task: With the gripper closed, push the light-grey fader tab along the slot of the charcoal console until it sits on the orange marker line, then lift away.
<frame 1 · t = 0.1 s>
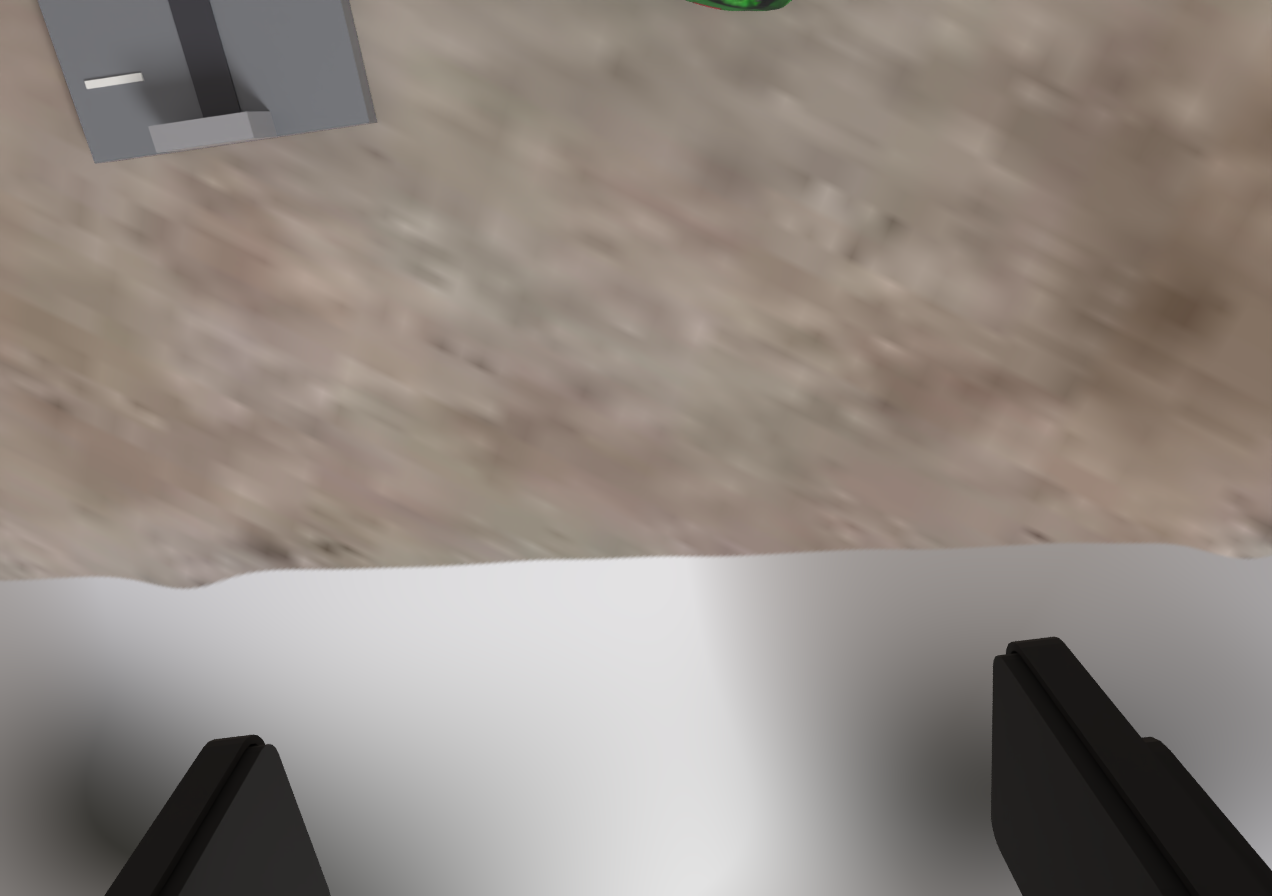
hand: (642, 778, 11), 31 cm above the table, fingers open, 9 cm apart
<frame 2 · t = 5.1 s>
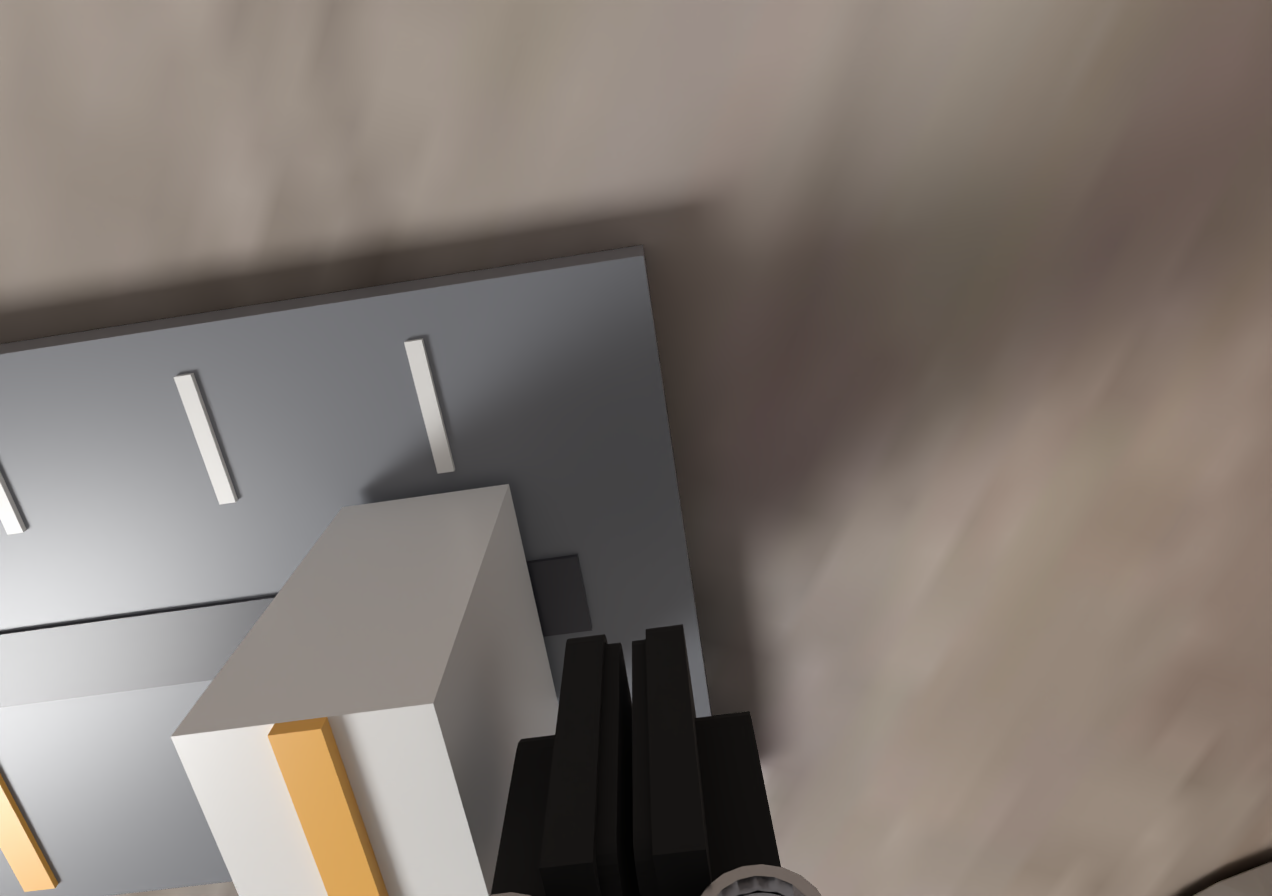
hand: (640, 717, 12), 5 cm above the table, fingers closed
console: (159, 618, 18), on the table
fader tab: (417, 727, 13), point 5 cm above the table, slide at 0.4 cm, touching gripper
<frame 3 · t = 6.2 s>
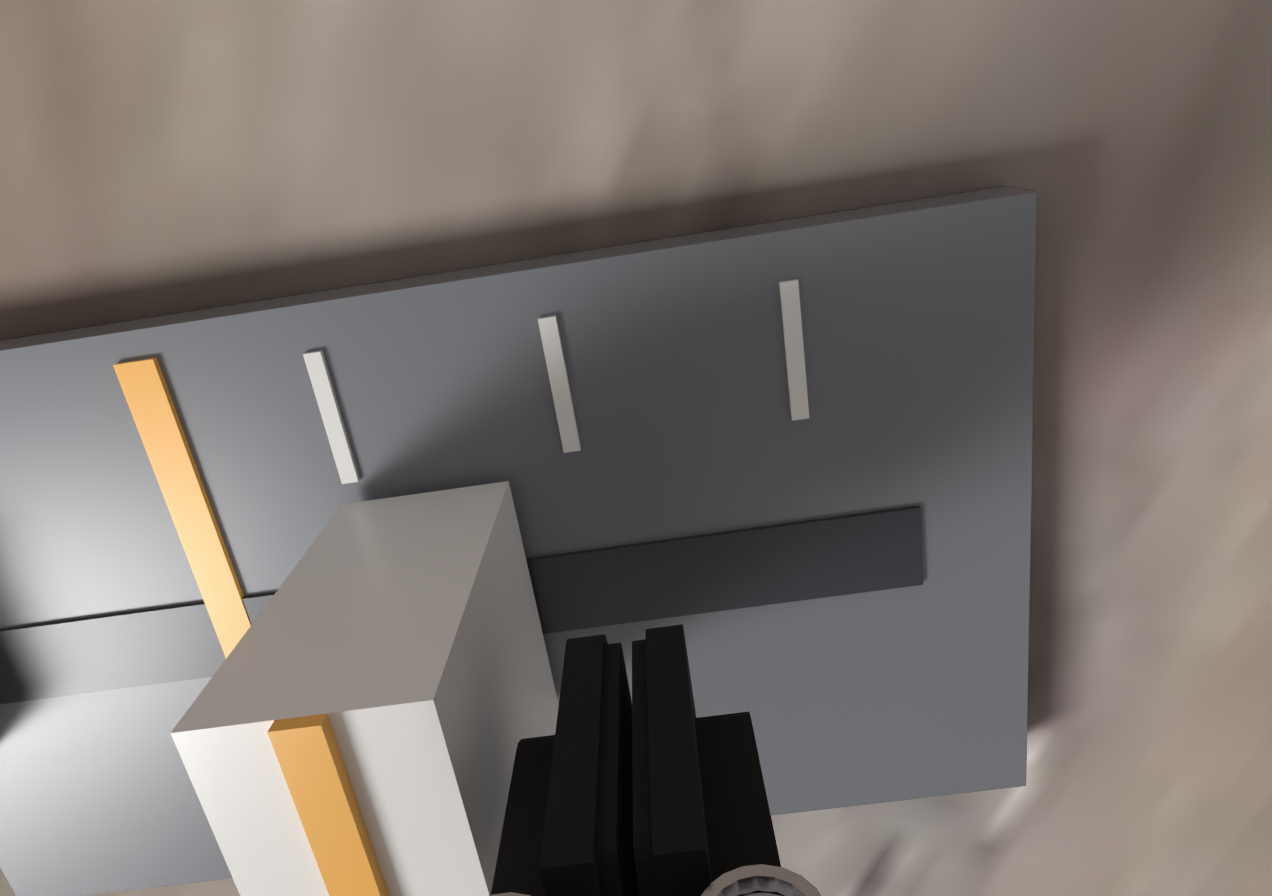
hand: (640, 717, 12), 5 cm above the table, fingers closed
console: (455, 575, 17), on the table
fader tab: (417, 724, 13), point 5 cm above the table, slide at 6.7 cm, touching gripper
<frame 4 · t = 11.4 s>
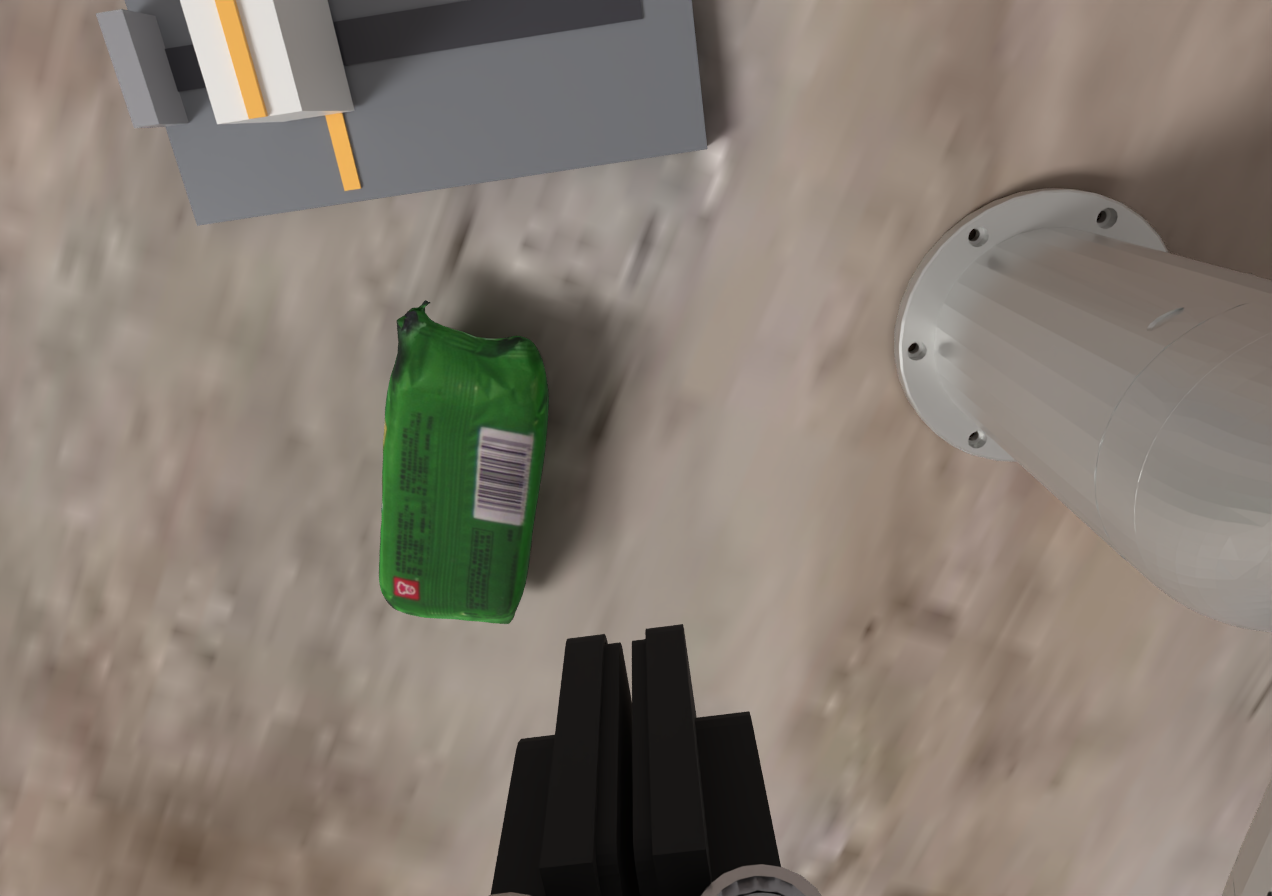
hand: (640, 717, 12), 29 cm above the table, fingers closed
console: (422, 34, 35), on the table
fader tab: (270, 43, 31), point 5 cm above the table, slide at 11.6 cm
snack package: (473, 458, 43), on the table
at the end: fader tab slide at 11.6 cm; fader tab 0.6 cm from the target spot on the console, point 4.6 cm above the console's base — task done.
